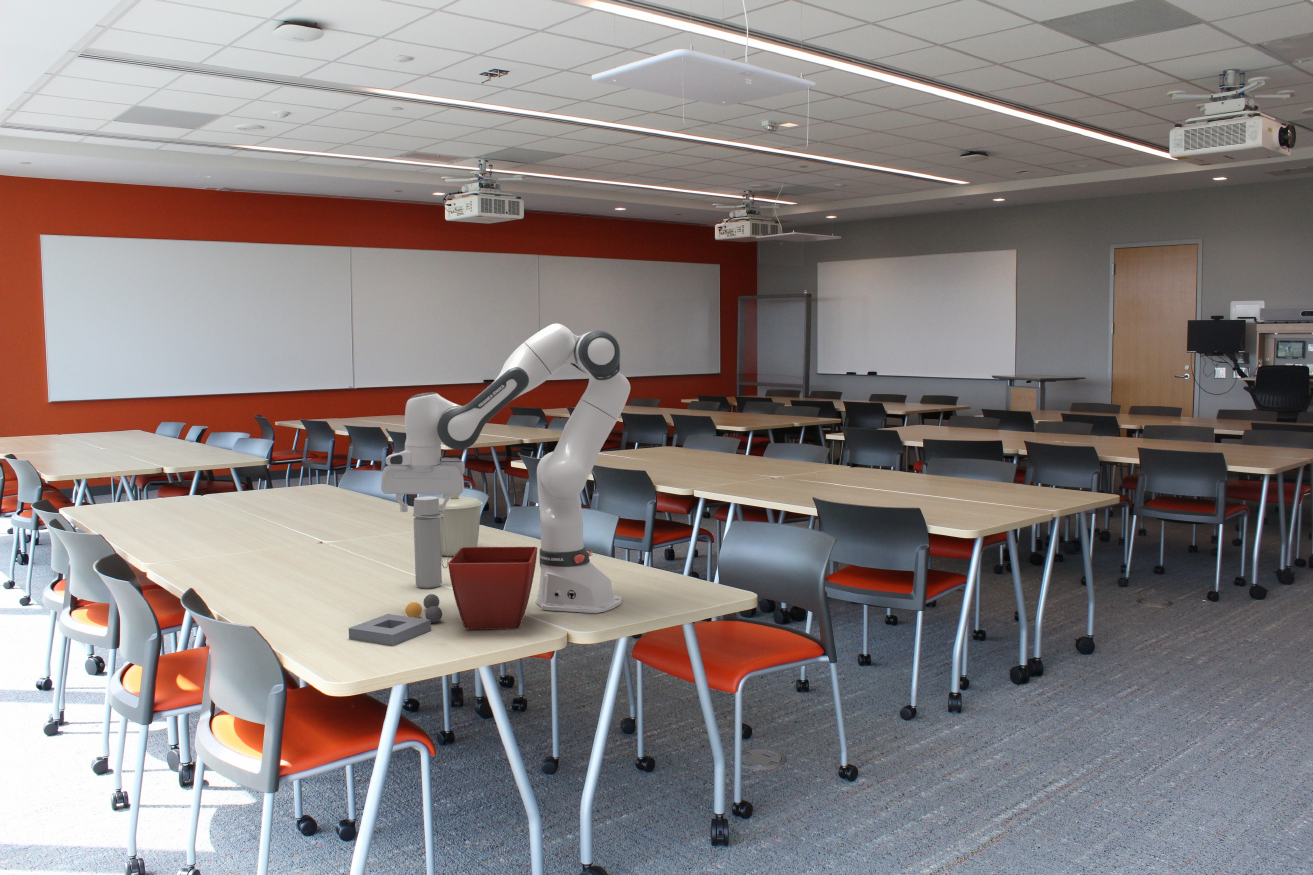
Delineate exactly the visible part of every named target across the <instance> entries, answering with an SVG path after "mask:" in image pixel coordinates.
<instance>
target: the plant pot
mask: <svg viewBox="0 0 1313 875" xmlns="http://www.w3.org/2000/svg"><path fill="white" fill-rule="evenodd" d="M537 554H538V547H537V546H477V547H464V548H461V549H460V550H459V551H458V552H457V553H456V555H455V556H452V558H451V559H450V560H448V572H449V578H450V582H451V587H452V588H451V589H452V592H453V597H454V600H455V603H456V607H457V611H458V613H459V616H460V619H461V622H462V624H463V626H464V628H465V629H466V630H517V629H519V628H520V627H521V625H522V622H523V619H524V618H525V614H526V611H527V607H528V604H529V598H530V595H531V590H532V587H533V582H534V576H535V570H536V564H537V557H538V556H537Z"/></svg>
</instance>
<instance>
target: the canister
mask: <svg viewBox="0 0 1313 875" xmlns="http://www.w3.org/2000/svg"><path fill="white" fill-rule="evenodd" d="M438 499H439V505H440V504H443V502H444V500H445V499H443V497H441V498H439V497H438ZM483 504H484V503H483V501H481V500H480V499H479V498H475V497H472V496H471V497H470V496H461V494H459V495H450V498H449V500H448V502H447V503H446V505H445V512H440V514H441V515H443V520H441V518H440V540H441V556H442V557H443V556H444V557H447V553H448V557H454V556H455V555H456V553H457V552H458V551H459V550H460V549H461V548H464V547H478V544H479V535H480V534H479V532H480V522H481V511H482V510H481V508H482V506H483ZM438 517H440V515H439V516H438ZM442 521H443V523H442ZM443 527H444V530H443ZM444 534H445V537H444ZM445 540H446V544H445ZM446 547H447V550H446Z"/></svg>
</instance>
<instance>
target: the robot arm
mask: <svg viewBox="0 0 1313 875" xmlns="http://www.w3.org/2000/svg"><path fill="white" fill-rule="evenodd" d="M620 348H621V347H620V344H619V342H618V340H617V339H616V337H614V336H613V335H612V334H611V333H610V332H607V331H605V330H592V331H588V332H586V333H583V334H580V335H576V334H574V333H573V332H572V331H571V329H569V328H568V327H567V326H565V325H563V324H561V323H558V322H557V323H552V324H550V325H547V326H545V327H544V328H542V329H541V330H539V331H538V332H536V333H535V334H533V335H532V336H530V337H529V338H527V339H526V340H524V341H523V343H522V344H520V345H519V346H518V347H516V349H514V350H513V352H512V353H511V355H509V356H508V358H507V359H506V360H505V361H504V363H503V366H502V368H501V369H500V370H501V371H500V373H499V374H498V375H497V377H496V378H495V380H494V381H493V382H491V384H489V385H488V386H487V387H486V388H484V390H483V391H481V393H479V394H478V395H477V396H476V397H474V398H473V399H472V400H471V401H469V402H468V403H466V404H465V405H460V404H458V403H454V402H452V401H450V400H448V399H446V398H444V397H442V396H441V395H440V394H439V393H437V392H436V391H435V392H433V391H431V392H423V393H417V394H414V395H412V396H411V397H410V398H408V400H407V401H406V403H405V410H404V412H405V413H404V431H405V435H406V438H405V442H404V449H403V451H401V450H400V451H398V452H396V453H392V454H390V455H388V456H386V457H385V464H386V466H384V469H383V471H382V474H381V481H380V482H381V484H380V490H381V492H382V493H383V494H385V495H395V500H396V501H397V502H398V505H399V508H400V512H401V513H406V512H408V506H409V505H408V503H405V502H404V501H403V499H402V498H403V497H404V495H442V498H443V499H445V500H444V502H443V504H440V505H438V508H439V510H438V512H445V505H446V503H447V502H448V500H449V498H450V495H459V494H460V495H461V494H462V493H463V492H464V490H465V483H464V474H465V471H466V468H465V466H466V465H465V462H464V461H463V460H462V459H459V458H458V457H442V444H443V445H445V446H446V447H448V448H450V449H453V450H458V451H459V450H460V451H461V450H465V449H467V448H470V447H471V446H472V445H474V444H475V443H476V442H477V440H478V439H479V437H480V435H481V432H482V430H483V428H484V426H485V425H486V424H487V423H488V422H489V421H490V420H491V419H492V418H493V417H494V416H495V415H497V414H498V413H499V412H501V410H502V409H504V408H505V407H506V406H507V405H508V404H510V402H513V400H515V399H517V398H518V397H520V396H522V395H523V394H526V393H527V392H530V391H533V389H535V388H537V387H539V386H540V385H541V384H542V385H543V383H545V382H546V381H548V379H550V378H551V377H552V376H553V375H555V374H556V373H557V372H558V371H559V370H560V369H562V368H564V367H565V366H567V365H569V364H570V365H572V366H573V367H575V368H576V369H577V370H578V371H581V372H583V373H584V374H587V375H588V384H587V387H586V389H585V391H584V393H583V394H582V396H581V397H580V399H579V401H578V403H577V404H576V406H575V408H574V410H573V411H572V413H571V415H570V416H569V418H568V420H567V421H566V423H565V424H564V428H563V430H562V432H561V435H560V437H559V440H558V442H557V444H556V446H555V448H554V450H553V451H551V452H548V453H547V454H545V455H543V456H542V458H541V459H540V460H539V462H538V463H537V466H536V481H537V482H536V483H537V495H538V496H537V499H538V506H539V507H538V510H539V516H540V518H539V520H540V548H539V566H540V567H539V568H540V578H539V579H540V580H539V585H538V593H537V597H536V600H535V604H537V605H539V607H540V609H541V610H543V611H554V612H571V613H572V612H573V613H590V614H599V613H603V612H607V611H610V610H613V609H615V608H617V607H619V606H620V605H621V604H622V603H623V602H622V601H623V600H622V597H621V596H620V595H619V596H618V595H614V590H613V585H612V581H611V579H610V578H609V577H608V576H607V575H605V574H604V573H603V572H602V571H601V570H599V569H598V568H597V567H596V566H595V565H594V564H592V563H591V560H590V557H591V556H593V550H591V551H588V550H587V549H586V547H585V546H584V516H583V515H584V514H583V510H582V502H581V492H582V491H583V490H584V488H585V486H586V483H587V481H588V479H589V477H590V475H591V474H592V473H591V472H592V471H593V468H594V466H595V465H596V462H597V459H598V457H599V454H600V452H601V449H602V448H603V446H604V444H605V442H606V440H607V439H608V438H609V436H610V433H611V432H612V430H613V428H614V427H615V425H616V423H617V421H618V420H619V418H620V417H621V414H622V412H623V410H624V408H625V406H626V403H627V401H628V399H629V396H630V392H631V384H630V382H629V380H628V379H627V377H626V376H625V375H624V374H623V373H621V372H620V371H621V349H620Z"/></svg>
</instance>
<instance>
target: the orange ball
mask: <svg viewBox="0 0 1313 875" xmlns="http://www.w3.org/2000/svg"><path fill="white" fill-rule="evenodd" d="M404 612H405V616H407V617H414V618H419V617H420V616H421V615H422V612H423V607H422V604H420V603H419V602H417V601H412V602H409V603H408V604H407V605H406V606H405V611H404Z"/></svg>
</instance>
